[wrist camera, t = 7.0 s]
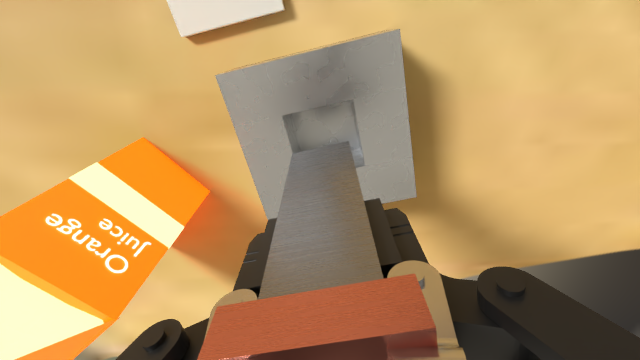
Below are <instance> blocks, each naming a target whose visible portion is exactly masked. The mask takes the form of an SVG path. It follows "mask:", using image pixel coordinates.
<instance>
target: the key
mask: <svg viewBox="0 0 640 360" xmlns="http://www.w3.org/2000/svg"><path fill="white" fill-rule="evenodd" d="M430 346H438V344H437V332H436V326H435V323H434V321H433V318H432V316H431V313H430V311H429V308H428V305H427V303H426V300H425V298H424V295H423V293H422V290H421V287H420V285H419V282H418V280H417V277H416V275H415V273H414V274H408V275H402V276H396V277H391V278H385V279H383V275H382V271H381V267H380V263H379V259H378V255H377V251H376V247H375V243H374V239H373V235H372V231H371V227H370V223H369V219H368V215H367V211H366V207H365V203H364V199H363V195H362V191H361V188H360V184H359V180H358V176H357V172H356V168H355V164H354V160H353V156H352V152H351V148H350V144H349V141H346V142H341V143H337V144H332V145H327V146H323V147H318V148H314V149H309V150H305V151H300V152H296V153H292V157H291V161H290V165H289V170H288V174H287V178H286V182H285V187H284V191H283V195H282V199H281V204H280V208H279V212H278V216H277V221H276V225H275V229H274V233H273V238H272V242H271V246H270V250H269V255H268V259H267V263H266V267H265V272H264V276H263V280H262V284H261V289H260V293H259V297H258V300H253V301H247V302H241V303H235V304H229V305H223V306H217V308H216V311H215V313H214V316H213V319H212V321H211V324H210V327H209V329H208V332H207V335H206V337H205V340H204V343H203V345H202V348H201V350H200V353H199V356H198V358H197V360H387V349H395V348H409V347H430Z"/></svg>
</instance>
